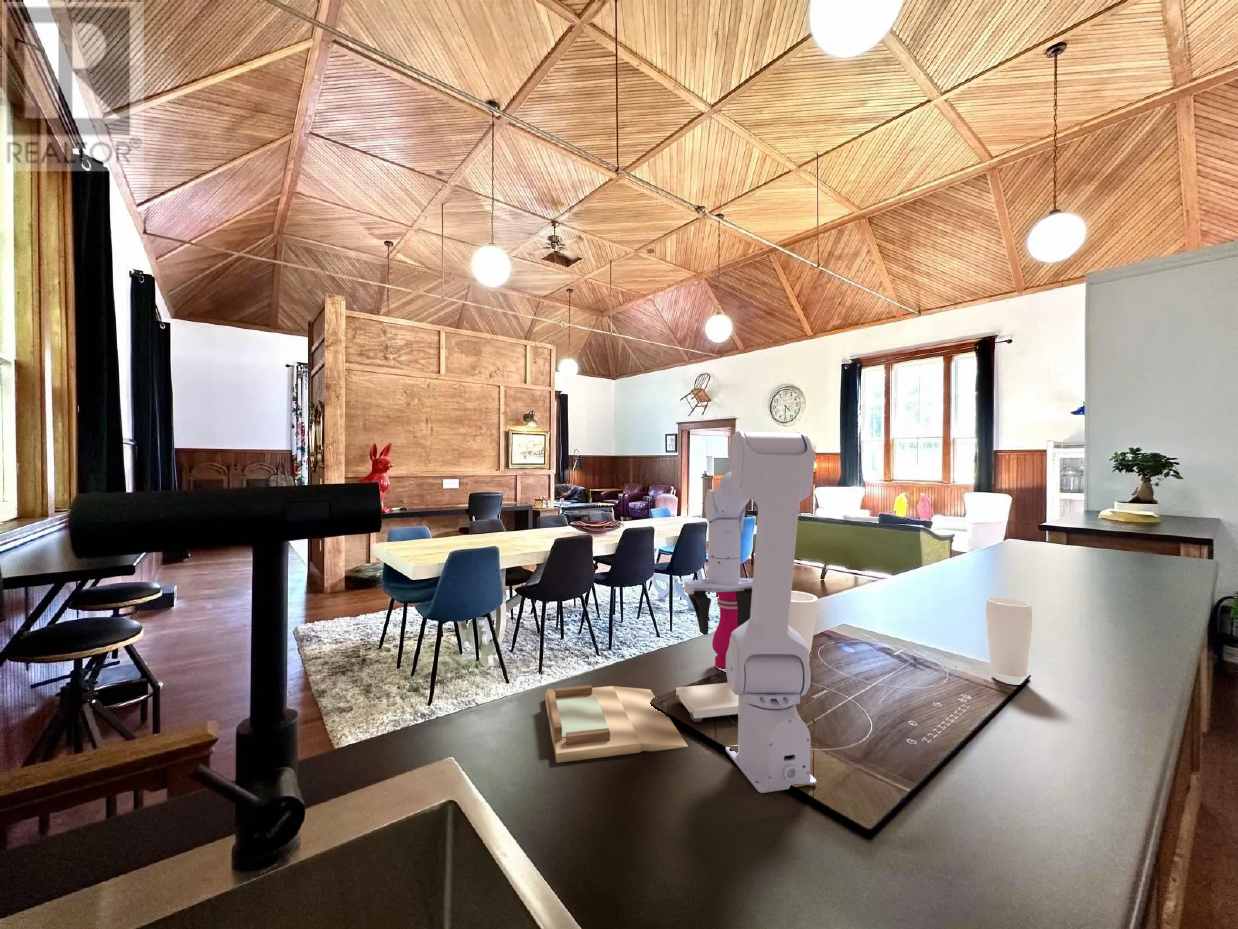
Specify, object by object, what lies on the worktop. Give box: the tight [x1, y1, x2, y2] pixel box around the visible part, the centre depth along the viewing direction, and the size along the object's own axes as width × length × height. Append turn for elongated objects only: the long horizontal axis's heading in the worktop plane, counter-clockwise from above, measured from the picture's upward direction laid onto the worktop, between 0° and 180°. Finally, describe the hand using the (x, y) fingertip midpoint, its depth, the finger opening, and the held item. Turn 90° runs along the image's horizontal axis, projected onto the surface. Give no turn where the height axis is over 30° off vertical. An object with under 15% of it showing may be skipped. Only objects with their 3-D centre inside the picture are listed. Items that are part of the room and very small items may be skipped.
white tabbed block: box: [675, 681, 738, 723], centre depth 79 cm, size 8×11×2 cm
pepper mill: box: [711, 576, 742, 669], centre depth 96 cm, size 7×7×20 cm
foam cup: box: [788, 590, 819, 655], centre depth 101 cm, size 10×9×13 cm
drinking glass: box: [985, 596, 1033, 677], centre depth 92 cm, size 7×7×15 cm
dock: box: [544, 684, 689, 764], centre depth 75 cm, size 18×18×4 cm
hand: (723, 631), depth 88 cm, fingers open, 7 cm apart
